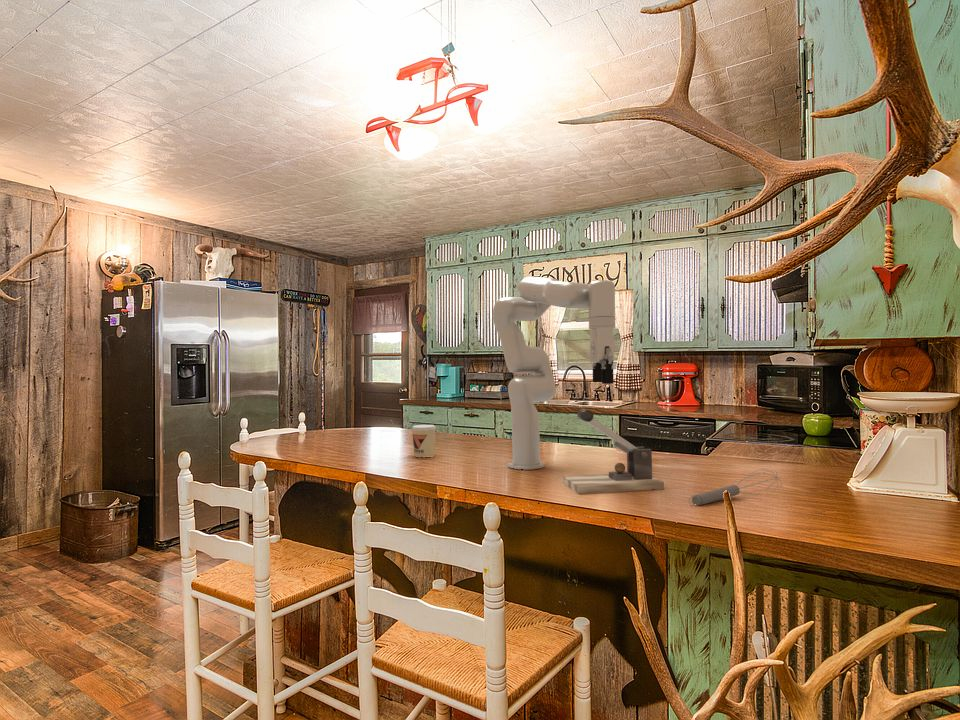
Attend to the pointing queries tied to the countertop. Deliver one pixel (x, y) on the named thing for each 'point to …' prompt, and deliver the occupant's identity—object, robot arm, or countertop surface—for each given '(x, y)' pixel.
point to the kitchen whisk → (732, 489)
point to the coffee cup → (424, 440)
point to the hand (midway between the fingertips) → (602, 382)
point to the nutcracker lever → (606, 431)
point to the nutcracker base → (608, 484)
